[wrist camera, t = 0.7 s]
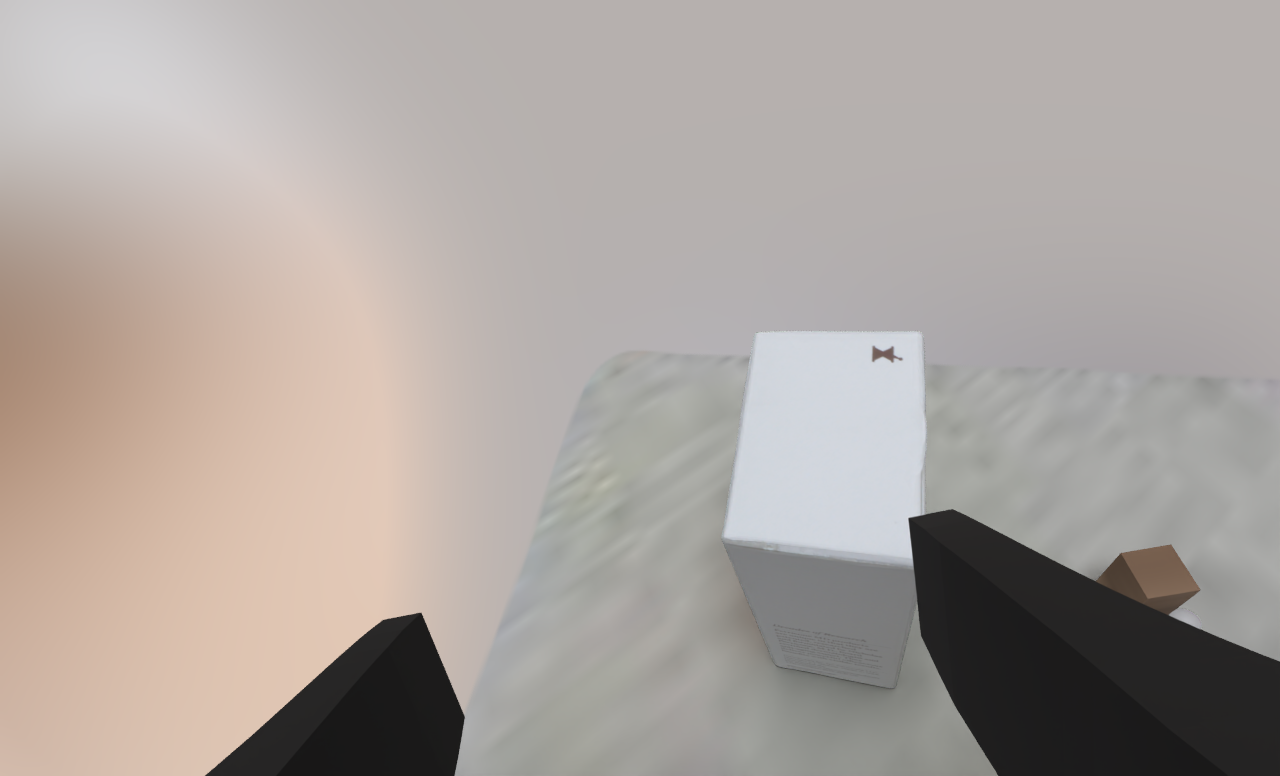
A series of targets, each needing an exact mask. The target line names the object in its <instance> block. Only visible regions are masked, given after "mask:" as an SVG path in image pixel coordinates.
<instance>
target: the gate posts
mask: <svg viewBox="0 0 1280 776" xmlns="http://www.w3.org/2000/svg"><path fill="white" fill-rule="evenodd" d="M1096 582H1098V583H1100V584H1102V585H1104V586H1106V587H1108V588H1110V589H1112V590H1114V591H1116V592H1119V593H1121V594H1123V595H1125V596H1127V597H1129V598H1131V599H1134V600H1136V601H1138V602H1140V603H1142V604H1144V605H1146V606H1149V607H1151V608H1153V609H1155V610H1158V611H1160V612H1162V613H1165V614H1167V615H1169V614H1170V613H1171V612H1173V611H1174V610H1175V609H1177V608H1178V607H1179V606H1181V605H1182V604H1183V603H1185V602H1186V601H1187V600H1188V599H1190V598H1191V597H1192V596H1194V595H1195V594H1196V593H1198V592H1199V591H1200V588H1199V587H1198V585H1197V584H1196V582H1195V581H1194V579H1193V578H1192V576H1191V575H1190V573H1189V572H1188V570H1187V568H1186V567H1185V565H1184V564H1183V562H1182V561H1181V559H1180V558H1179V556H1178V555H1177V553H1176V552H1175V550H1174V549H1173V547H1172V545H1166V546H1160V547H1154V548H1148V549H1142V550H1137V551H1131V552H1125V553H1121V554H1120V555H1119V556H1118V557H1117V558H1116V559H1115V560H1114V562H1113V563H1112V564H1111V565H1110V566H1109V567H1108V568H1107V569H1106V571H1105V572H1104V573H1103V574H1102V575H1101V576H1100V577H1099V578H1098V580H1097V581H1096Z"/></svg>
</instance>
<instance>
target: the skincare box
mask: <svg viewBox="0 0 1280 776" xmlns="http://www.w3.org/2000/svg"><path fill="white" fill-rule="evenodd" d="M926 449H927V422H926V388H925V351H924V337H923V334H922V333H921V332H919V331H898V332H897V331H892V332H843V331H842V332H841V331H837V332H836V331H774V332H757V333H756V334H755V335H754V339H753V344H752V350H751V355H750V361H749V367H748V372H747V377H746V382H745V388H744V394H743V400H742V407H741V415H740V423H739V430H738V437H737V444H736V451H735V457H734V463H733V470H732V476H731V482H730V488H729V495H728V501H727V507H726V514H725V520H724V526H723V531H722V537H721V540H722V542H723V544H724V546H725V549H726V551H727V553H728V556H729V558H730V560H731V563H732V565H733V567H734V570H735V572H736V574H737V577H738V579H739V582H740V584H741V586H742V589H743V591H744V593H745V596H746V598H747V601H748V603H749V605H750V608H751V610H752V612H753V615H754V617H755V620H756V622H757V624H758V627H759V629H760V631H761V634H762V636H763V638H764V641H765V643H766V645H767V648H768V650H769V652H770V655H771V657H772V659H773V661H774V664H775V665H777V666H779V667H783V668H789V669H795V670H801V671H806V672H811V673H816V674H820V675H825V676H830V677H835V678H840V679H845V680H850V681H855V682H860V683H865V684H870V685H875V686H880V687H885V688H895V687H896V685H897V681H898V677H899V673H900V668H901V664H902V660H903V655H904V651H905V647H906V643H907V639H908V636H909V632H910V628H911V623H912V620H913V616H914V611H915V607H916V603H917V593H916V584H915V575H914V566H913V557H912V548H911V539H910V530H909V521H908V518H910V517H915V516H921V515H926V475H925V460H926Z"/></svg>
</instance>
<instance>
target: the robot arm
mask: <svg viewBox="0 0 1280 776" xmlns="http://www.w3.org/2000/svg"><path fill="white" fill-rule="evenodd" d="M908 521H909V530H910V539H911V548H912V557H913V566H914V575H915V584H916V593H917V603H918V612H919V621H920V630H921V636H922V638H923V641H924V643H925V645H926V647H927V649H928V651H929V653H930V655H931V658H932V660H933V662H934V664H935V666H936V668H937V670H938V672H939V675H940V677H941V679H942V681H943V683H944V685H945V687H946V689H947V691H948V693H949V695H950V697H951V699H952V701H953V703H954V705H955V706H956V708H957V710H958V711H959V713H960V715H961V716H962V718H963V720H964V721H965V723H966V724H967V726H968V728H969V729H970V731H971V732H972V734H973V736H974V737H975V739H976V740H977V742H978V744H979V745H980V747H981V748H982V750H983V752H984V753H985V755H986V757H987V758H988V760H989V761H990V763H991V765H992V766H993V768H994V769H995V771H996V772H997V774H998V776H1280V662H1279V661H1277V660H1274V659H1272V658H1269V657H1266V656H1264V655H1261V654H1258V653H1256V652H1254V651H1251V650H1249V649H1246V648H1244V647H1241V646H1239V645H1236V644H1234V643H1232V642H1229V641H1227V640H1224V639H1222V638H1219V637H1217V636H1215V635H1212V634H1210V633H1208V632H1205V631H1203V630H1201V629H1199V628H1196V627H1194V626H1192V625H1190V624H1187V623H1185V622H1183V621H1180V620H1178V619H1176V618H1174V617H1171V616H1169V615H1167V614H1165V613H1162V612H1160V611H1158V610H1155V609H1153V608H1151V607H1149V606H1146V605H1144V604H1142V603H1140V602H1138V601H1136V600H1134V599H1131V598H1129V597H1127V596H1125V595H1123V594H1121V593H1119V592H1116V591H1114V590H1112V589H1110V588H1108V587H1106V586H1104V585H1102V584H1100V583H1098V582H1096V581H1094V580H1092V579H1089V578H1087V577H1085V576H1083V575H1081V574H1079V573H1077V572H1075V571H1073V570H1071V569H1069V568H1067V567H1065V566H1063V565H1061V564H1059V563H1057V562H1055V561H1053V560H1051V559H1049V558H1048V557H1046V556H1044V555H1042V554H1040V553H1038V552H1036V551H1034V550H1032V549H1030V548H1028V547H1026V546H1024V545H1022V544H1020V543H1018V542H1016V541H1015V540H1013V539H1011V538H1009V537H1007V536H1005V535H1003V534H1001V533H999V532H997V531H995V530H993V529H991V528H990V527H988V526H986V525H984V524H982V523H980V522H978V521H976V520H974V519H972V518H970V517H968V516H966V515H964V514H962V513H960V512H957V511H955V510H953V509H951V510H946V511H941V512H936V513H931V514H926V515H921V516H915V517H910V518H908ZM464 719H465V716H464V714H463V712H462V709H461V707H460V705H459V702H458V700H457V697H456V695H455V693H454V690H453V688H452V685H451V683H450V680H449V678H448V676H447V673H446V671H445V668H444V666H443V664H442V661H441V659H440V656H439V654H438V652H437V649H436V647H435V644H434V642H433V640H432V637H431V635H430V632H429V630H428V628H427V625H426V623H425V620H424V618H423V616H422V613H417V614H412V615H406V616H401V617H397V618H391V619H386V620H383V621H381V622H380V623H379V624H377V625H376V626H375V627H373V628H372V629H371V630H370V631H368V632H367V633H366V634H365V635H364V636H362V637H361V638H360V639H359V640H358V641H356V642H355V643H354V644H353V645H352V646H351V647H349V649H347V650H346V651H345V652H344V653H343V654H342V655H341V656H339V657H338V658H337V659H336V660H335V661H334V662H333V663H332V664H331V665H329V666H328V667H327V668H326V669H325V670H324V671H323V672H322V673H321V674H319V675H318V676H317V677H316V678H315V679H314V680H313V681H312V682H311V683H309V684H308V685H307V686H306V687H305V688H304V689H303V690H302V691H301V692H300V693H298V694H297V695H296V696H295V697H294V698H293V699H292V700H291V701H290V702H288V703H287V704H286V705H285V706H284V707H283V708H282V709H281V710H280V711H279V712H277V713H276V714H275V715H274V716H273V717H272V718H271V719H270V720H269V721H267V722H266V723H265V724H264V725H263V726H262V727H261V728H260V729H259V730H257V731H256V732H255V733H254V734H253V735H252V736H251V737H250V738H249V739H247V740H246V741H245V742H244V743H243V744H242V745H240V746H239V747H238V748H237V749H236V750H235V751H233V752H232V753H231V754H230V755H229V756H228V757H226V758H225V759H224V760H223V761H222V762H221V763H220V764H218V765H217V766H216V767H215V768H214V769H212V770H211V771H210V772H209V773H208V774H207V775H205V776H454V775H455V770H456V765H457V760H458V755H459V749H460V743H461V737H462V731H463V725H464Z"/></svg>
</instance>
